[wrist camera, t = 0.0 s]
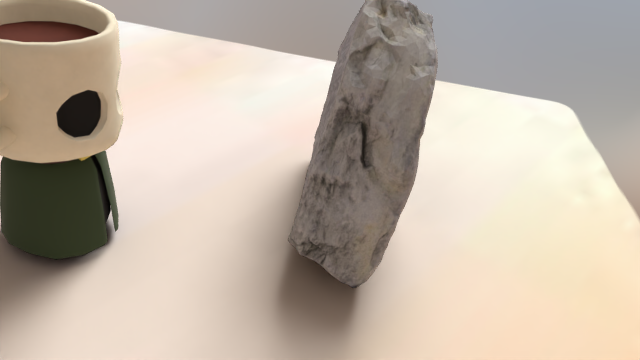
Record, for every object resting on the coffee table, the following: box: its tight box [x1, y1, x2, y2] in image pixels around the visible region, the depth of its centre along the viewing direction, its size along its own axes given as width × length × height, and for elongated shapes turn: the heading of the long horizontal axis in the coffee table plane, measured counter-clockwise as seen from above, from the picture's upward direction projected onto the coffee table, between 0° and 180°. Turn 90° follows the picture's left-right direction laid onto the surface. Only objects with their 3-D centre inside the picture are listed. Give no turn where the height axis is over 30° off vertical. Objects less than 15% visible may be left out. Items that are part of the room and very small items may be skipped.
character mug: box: [0, 0, 123, 259], centre depth 32 cm, size 11×7×13 cm, turn 168°
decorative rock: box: [288, 0, 438, 288], centre depth 37 cm, size 16×7×15 cm, turn 172°
